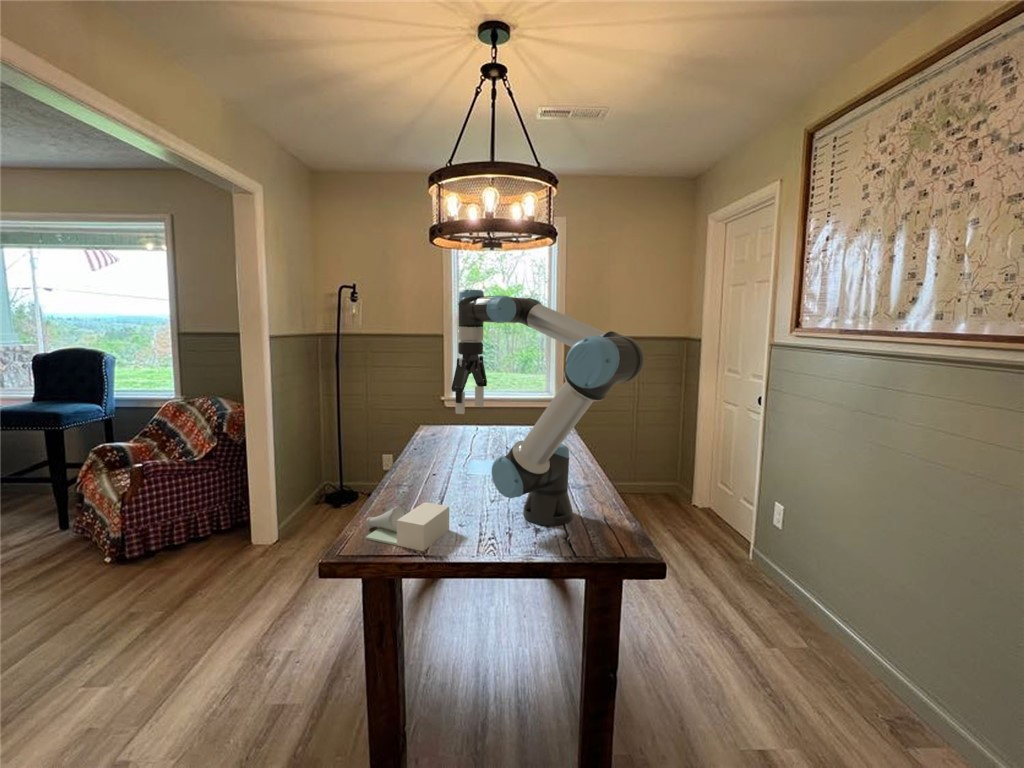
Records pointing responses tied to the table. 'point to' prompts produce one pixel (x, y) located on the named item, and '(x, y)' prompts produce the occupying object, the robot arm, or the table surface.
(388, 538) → the mat
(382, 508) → the table surface
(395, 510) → the flask
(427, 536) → the block
